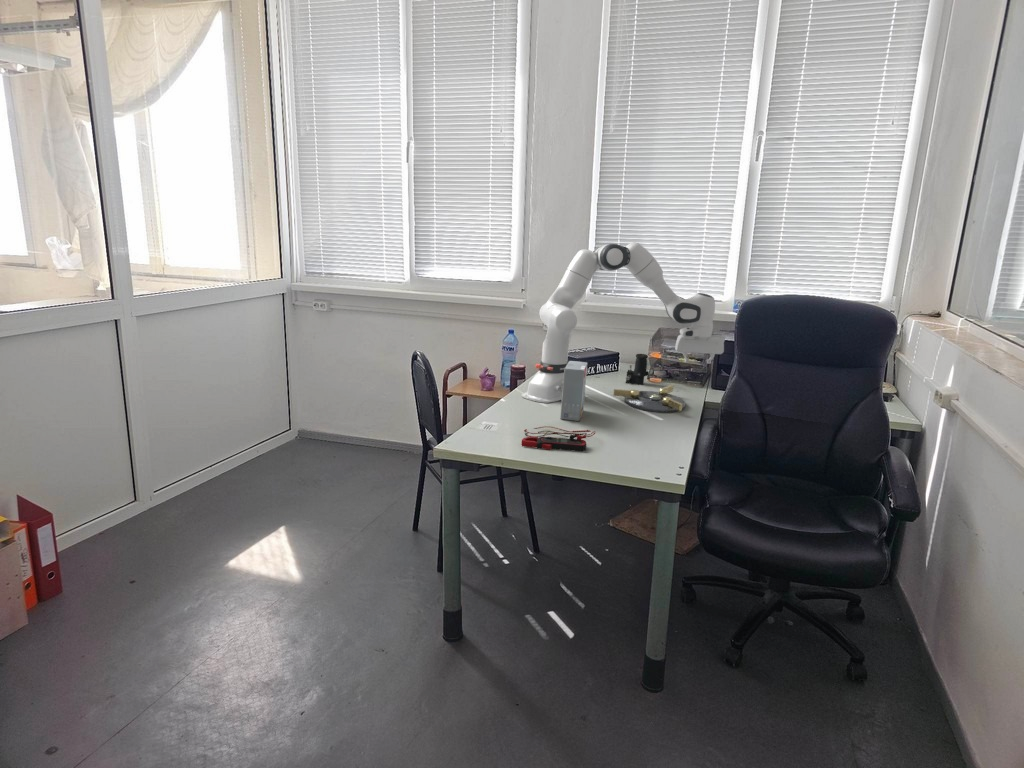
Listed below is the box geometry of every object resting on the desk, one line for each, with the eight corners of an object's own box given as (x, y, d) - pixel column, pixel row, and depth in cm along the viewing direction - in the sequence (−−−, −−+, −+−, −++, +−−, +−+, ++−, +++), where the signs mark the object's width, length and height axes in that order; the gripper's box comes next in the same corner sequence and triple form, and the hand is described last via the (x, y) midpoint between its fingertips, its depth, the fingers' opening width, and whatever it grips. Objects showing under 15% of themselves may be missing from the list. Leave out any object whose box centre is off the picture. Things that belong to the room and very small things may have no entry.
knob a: (665, 396, 271) (666, 389, 270) (657, 394, 273) (658, 388, 272) (675, 391, 279) (676, 385, 279) (667, 390, 281) (668, 383, 281)
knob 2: (660, 403, 260) (661, 396, 260) (667, 402, 262) (668, 395, 261) (676, 410, 251) (677, 403, 250) (684, 410, 252) (684, 403, 252)
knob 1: (638, 396, 269) (639, 389, 269) (639, 398, 266) (639, 391, 265) (613, 394, 271) (613, 387, 270) (613, 396, 267) (614, 389, 266)
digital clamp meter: (596, 442, 206) (519, 436, 209) (595, 455, 207) (519, 449, 210) (595, 420, 229) (526, 415, 231) (594, 432, 230) (525, 426, 232)
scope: (630, 351, 301) (651, 354, 299) (627, 380, 305) (648, 382, 302) (627, 355, 294) (649, 357, 291) (624, 383, 298) (646, 386, 295)
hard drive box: (580, 421, 239) (584, 370, 234) (559, 419, 241) (563, 368, 236) (583, 410, 254) (587, 361, 249) (564, 408, 255) (568, 359, 250)
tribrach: (669, 416, 251) (671, 407, 250) (613, 403, 265) (614, 394, 264) (693, 403, 270) (695, 395, 269) (640, 392, 284) (641, 383, 283)
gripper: (723, 331, 274) (719, 362, 278) (676, 329, 274) (672, 360, 278) (728, 334, 268) (723, 365, 272) (679, 331, 268) (676, 363, 272)
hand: (697, 363), depth 275 cm, fingers open, 8 cm apart
